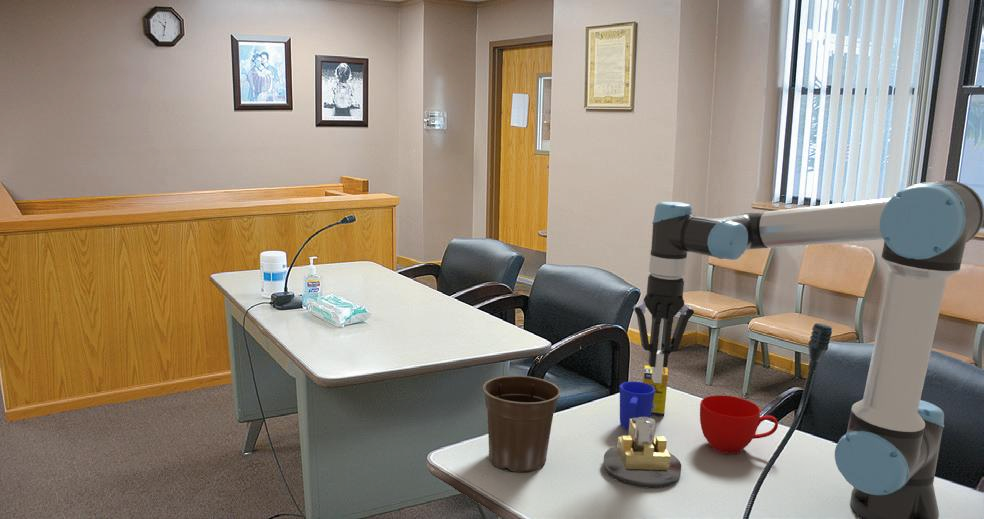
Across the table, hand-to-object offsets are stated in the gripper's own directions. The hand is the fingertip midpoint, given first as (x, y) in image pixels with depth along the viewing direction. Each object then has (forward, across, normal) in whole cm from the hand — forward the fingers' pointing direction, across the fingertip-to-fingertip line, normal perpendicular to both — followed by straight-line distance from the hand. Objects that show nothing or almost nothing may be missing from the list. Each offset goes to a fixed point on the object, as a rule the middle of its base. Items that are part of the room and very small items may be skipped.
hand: (656, 380), depth 169 cm
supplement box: (+17, -6, -23) cm, 30 cm away
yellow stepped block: (+14, +4, +6) cm, 16 cm away
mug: (+17, +1, -11) cm, 20 cm away
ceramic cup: (+17, -20, -2) cm, 26 cm away
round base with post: (+17, +4, +9) cm, 19 cm away
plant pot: (+17, +30, +5) cm, 35 cm away
